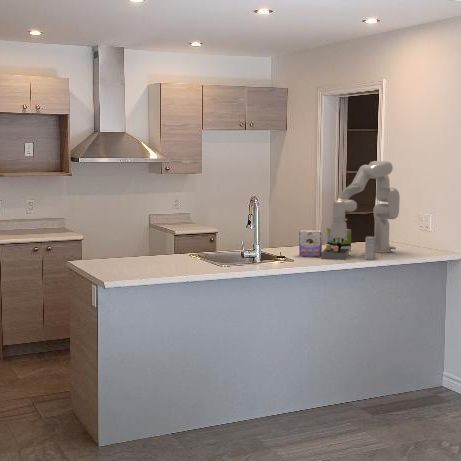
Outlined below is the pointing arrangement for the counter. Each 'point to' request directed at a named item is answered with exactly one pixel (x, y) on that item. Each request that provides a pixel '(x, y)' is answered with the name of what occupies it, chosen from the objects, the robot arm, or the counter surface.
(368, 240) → the junction box
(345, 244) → the tea box
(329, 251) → the breaker panel
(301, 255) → the candy box
